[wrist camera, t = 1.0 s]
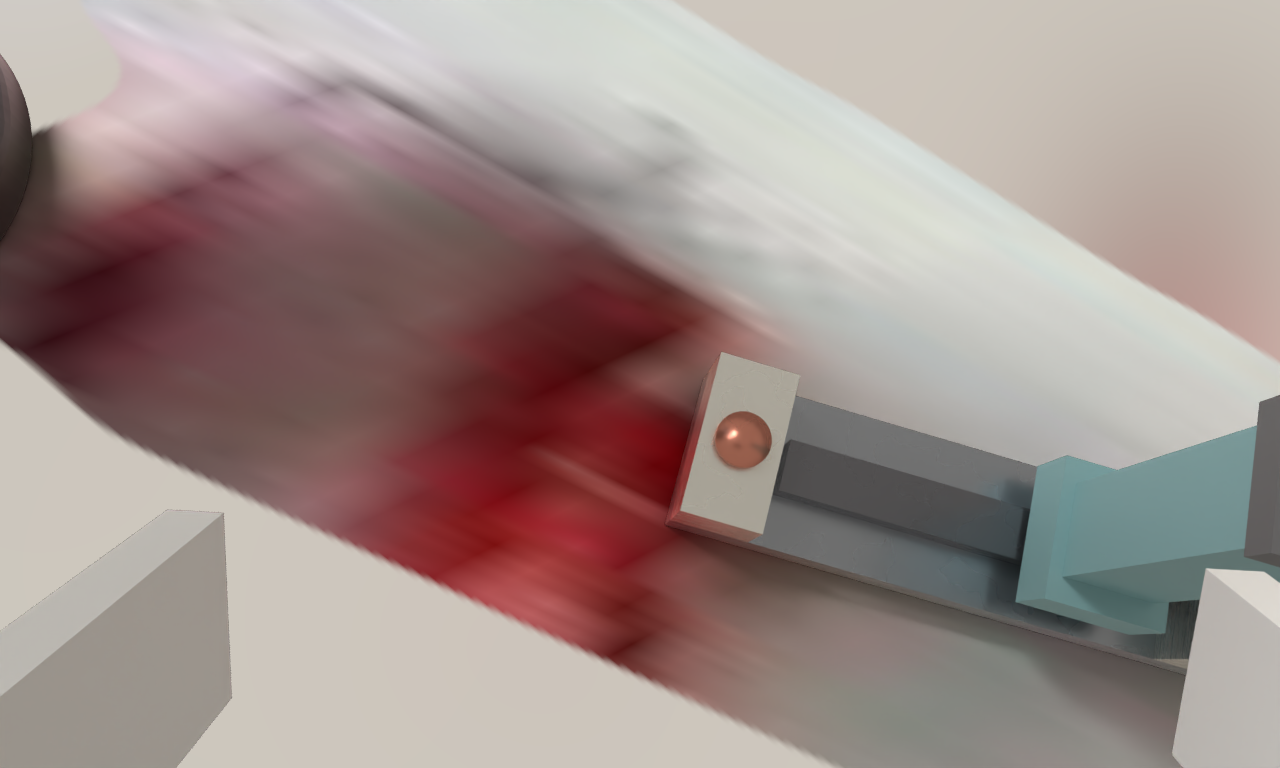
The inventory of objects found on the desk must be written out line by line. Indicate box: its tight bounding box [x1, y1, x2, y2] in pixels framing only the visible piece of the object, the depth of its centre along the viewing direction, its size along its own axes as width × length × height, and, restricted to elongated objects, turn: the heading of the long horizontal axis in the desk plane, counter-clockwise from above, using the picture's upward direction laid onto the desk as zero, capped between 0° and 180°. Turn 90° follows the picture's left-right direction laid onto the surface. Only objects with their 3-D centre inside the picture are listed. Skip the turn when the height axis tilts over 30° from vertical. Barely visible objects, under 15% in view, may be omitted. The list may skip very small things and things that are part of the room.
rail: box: [665, 352, 1200, 675], centre depth 39 cm, size 22×6×4 cm, turn 75°
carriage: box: [1015, 395, 1280, 635], centre depth 32 cm, size 4×5×13 cm
